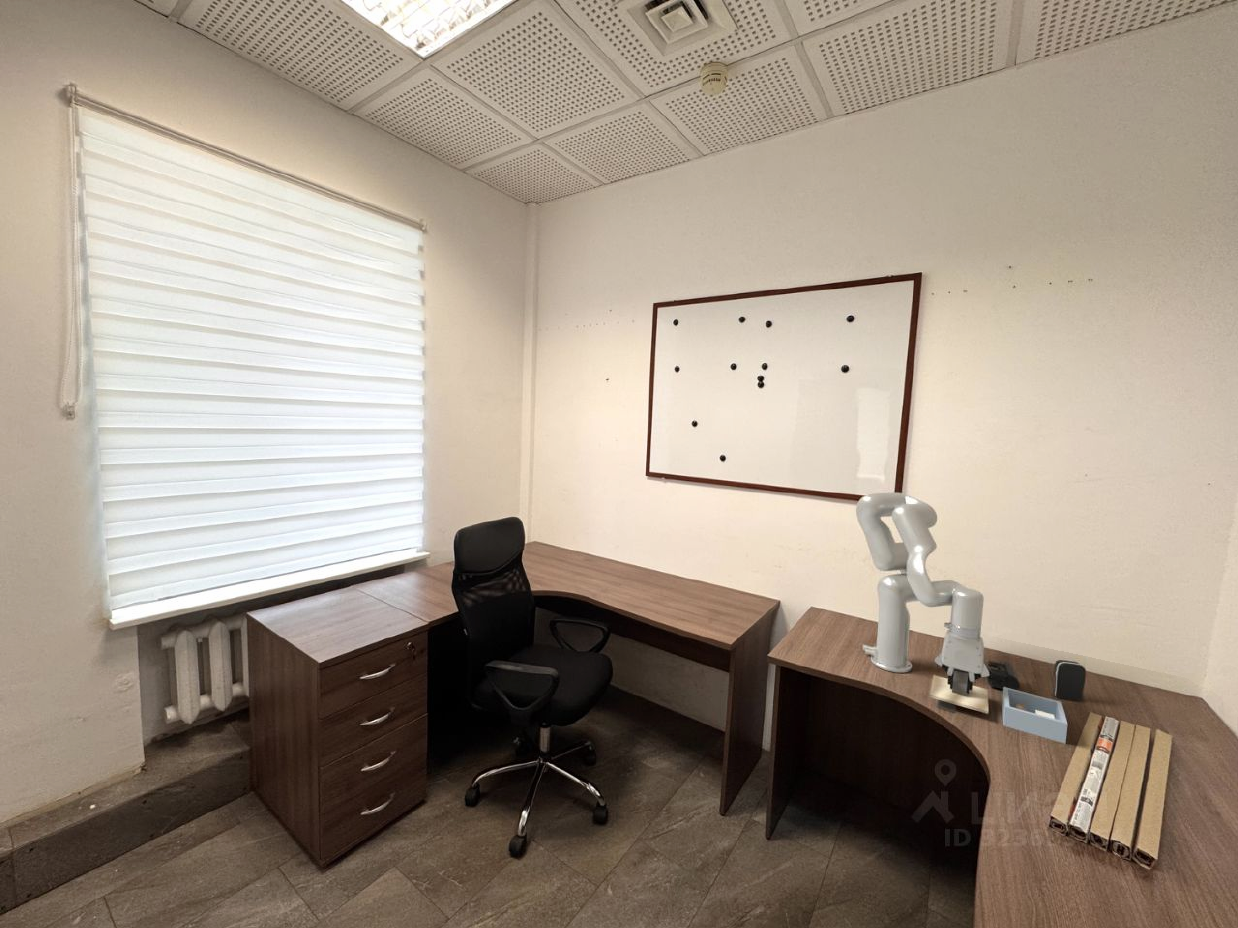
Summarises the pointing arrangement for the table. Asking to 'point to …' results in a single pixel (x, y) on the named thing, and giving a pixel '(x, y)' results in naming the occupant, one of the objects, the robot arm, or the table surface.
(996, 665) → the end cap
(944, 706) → the mat
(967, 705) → the lid
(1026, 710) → the cork ball
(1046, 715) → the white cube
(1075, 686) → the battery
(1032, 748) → the table surface
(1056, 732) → the box
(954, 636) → the robot arm
